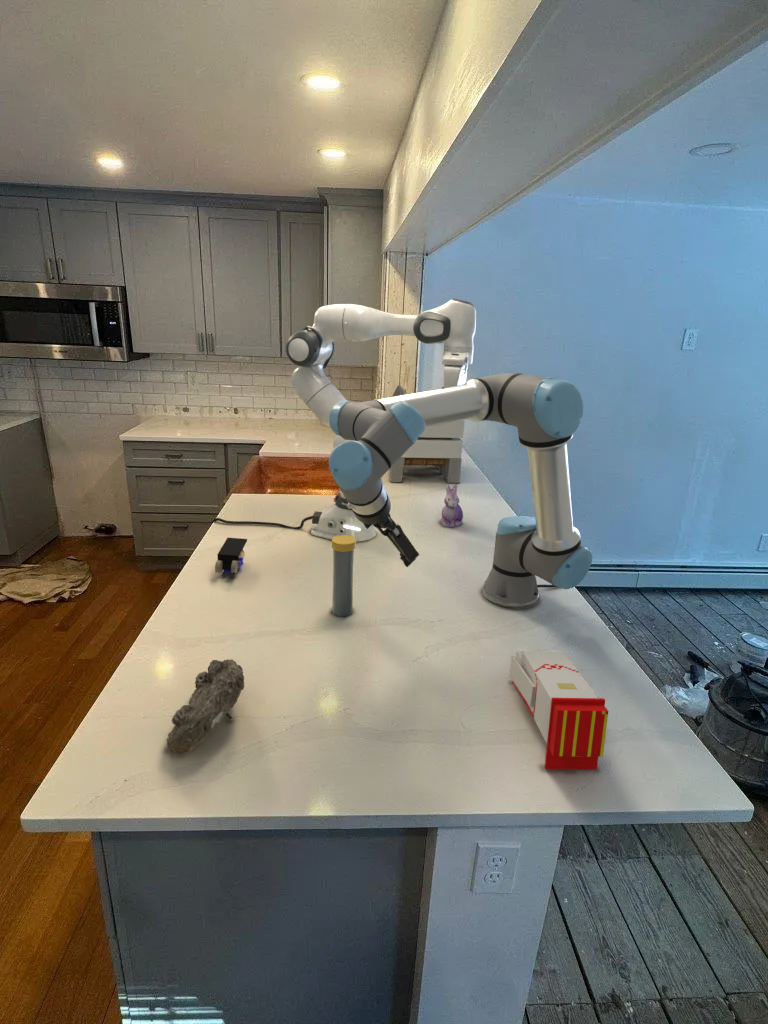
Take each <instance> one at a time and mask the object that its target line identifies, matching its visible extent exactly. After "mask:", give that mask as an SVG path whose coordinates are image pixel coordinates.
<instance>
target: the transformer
mask: <svg viewBox="0 0 768 1024" xmlns="http://www.w3.org/2000/svg"><path fill="white" fill-rule="evenodd" d="M441 389H444V386H442V387H441ZM402 395H408V393H407V390H406V389H404V388H403V387H402V385H399V384H398V385H397V386H396V388H395V390H394V392H393V394H392V395H391V397H396V396H402ZM464 429H465V420H461V421H456V422H451V423H446V424H441V425H436V426H431V427H426V428H425V430H424V432H423V433H422V434H421V435H420V436H419V438H418V439H417V440H416V441H415V444H414V445H412V446H411V447H410V448H409V449H408V450H407V451H406V452H405V453H404V454H403V455H402V456H401V457H400V458H399V459H398V460H397V461H396V462H395V463H394V464H393V465H392V466H391V468H390V469H389V475H388V476H389V477H388V478H389V480H390V482H391V483H402V482H403V475H404V469H405V466H406V467H407V466H411V467H412V466H413V467H415V466H416V467H417V466H418V467H436V468H437V470H438V469H439V473H440V474H441V475H443V478H444V479H445V481H446V482H447V483H449V484H459V483H461V472H462V461H463V460H462V453H463V442H464V441H463V440H462V439H463V438H464V431H465V430H464Z"/></svg>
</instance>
